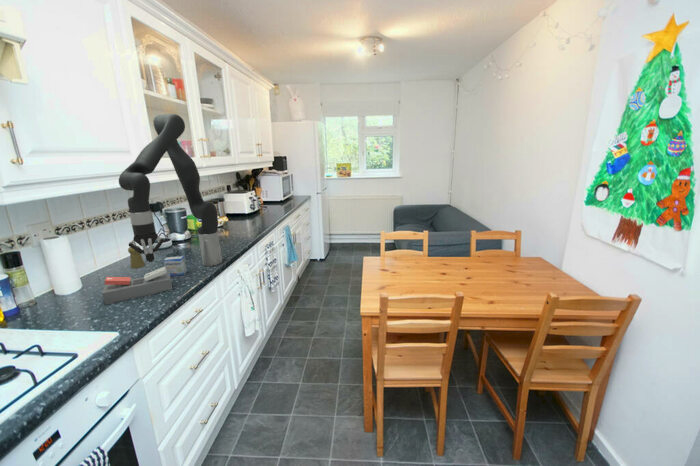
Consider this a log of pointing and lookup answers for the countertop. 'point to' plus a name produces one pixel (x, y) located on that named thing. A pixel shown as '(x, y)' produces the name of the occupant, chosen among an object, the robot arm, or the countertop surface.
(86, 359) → the countertop surface
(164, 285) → the rocker switch panel
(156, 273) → the white rocker
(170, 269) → the medicine box
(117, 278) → the block
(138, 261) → the cork
